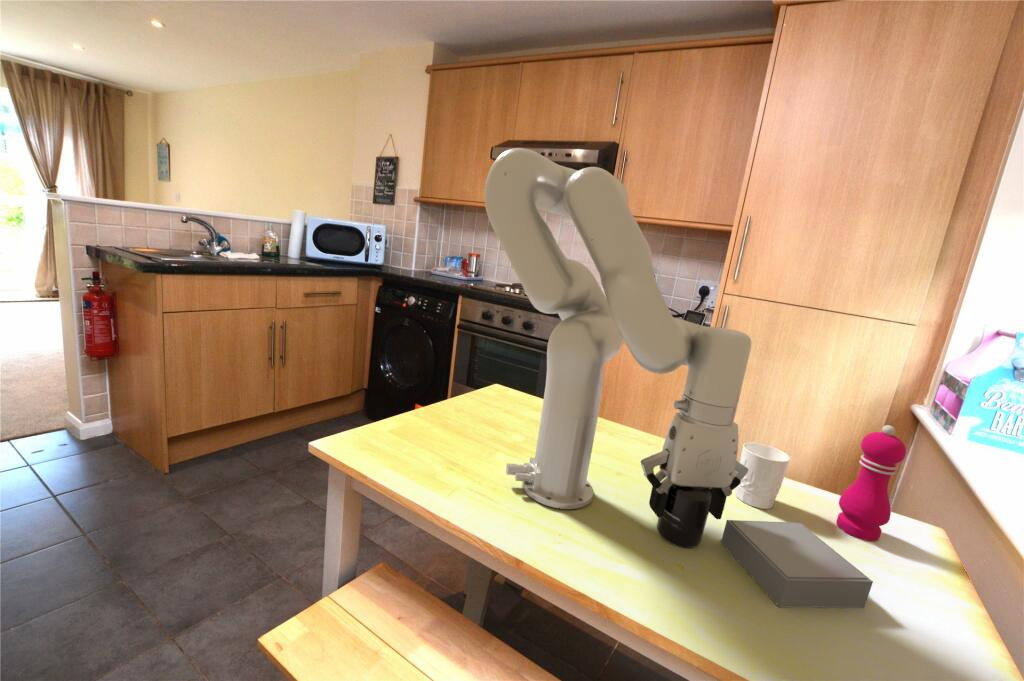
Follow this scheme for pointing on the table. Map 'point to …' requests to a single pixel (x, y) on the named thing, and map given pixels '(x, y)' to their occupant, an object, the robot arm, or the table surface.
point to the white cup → (761, 474)
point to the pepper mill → (871, 486)
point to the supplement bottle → (685, 515)
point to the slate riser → (795, 565)
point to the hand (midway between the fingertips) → (684, 513)
